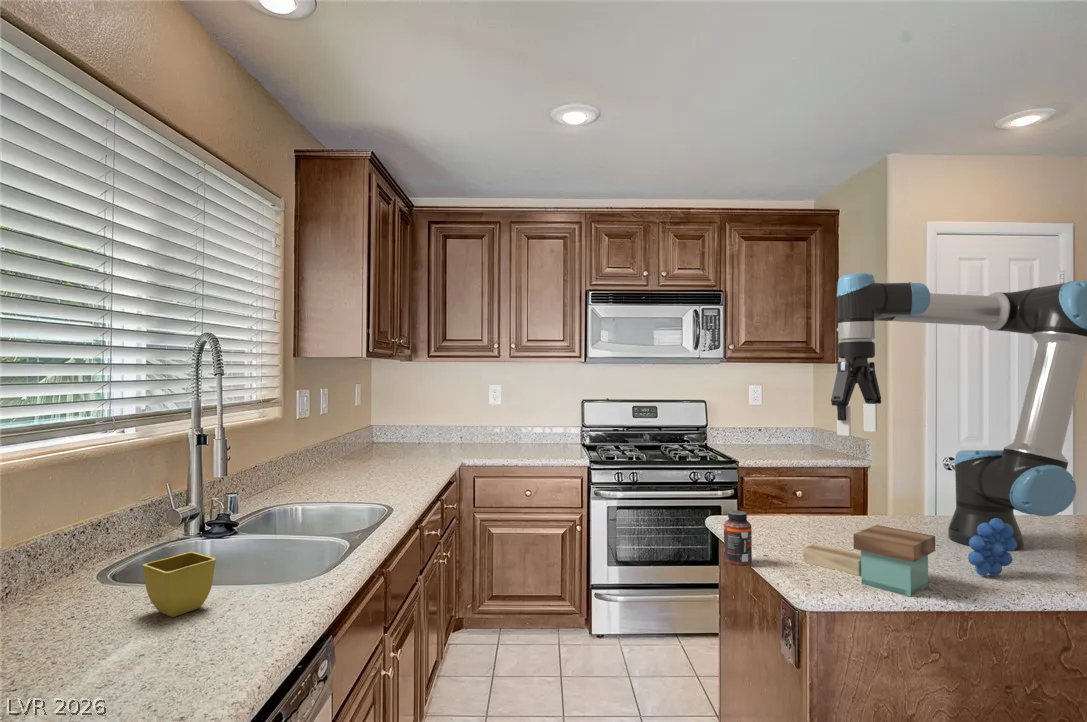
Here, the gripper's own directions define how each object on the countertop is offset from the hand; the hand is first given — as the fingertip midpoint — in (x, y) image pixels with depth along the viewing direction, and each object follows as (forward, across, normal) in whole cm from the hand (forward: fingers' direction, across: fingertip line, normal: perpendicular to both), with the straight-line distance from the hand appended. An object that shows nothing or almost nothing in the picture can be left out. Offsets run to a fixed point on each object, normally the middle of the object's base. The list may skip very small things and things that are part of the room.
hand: (857, 433), depth 137 cm
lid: (+22, +12, +12) cm, 28 cm away
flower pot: (+29, +126, -65) cm, 145 cm away
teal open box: (+29, +12, +12) cm, 33 cm away
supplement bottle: (+29, +24, -16) cm, 41 cm away
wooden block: (+29, +9, -1) cm, 30 cm away
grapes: (+29, -10, +22) cm, 38 cm away
